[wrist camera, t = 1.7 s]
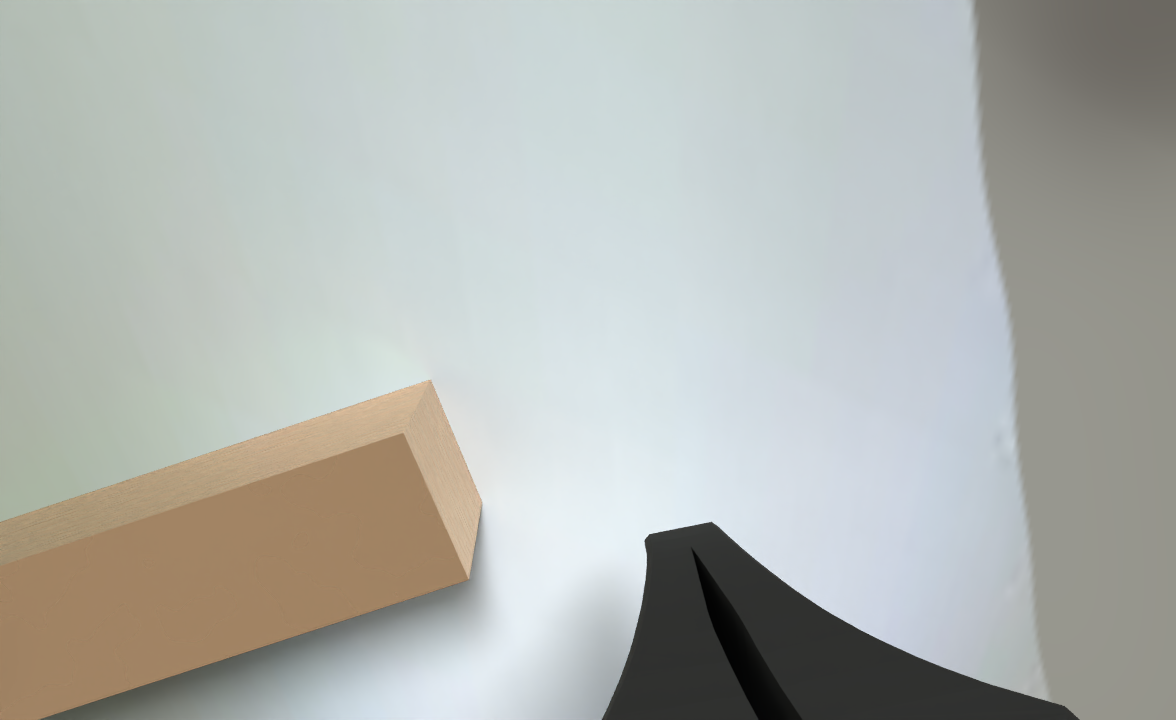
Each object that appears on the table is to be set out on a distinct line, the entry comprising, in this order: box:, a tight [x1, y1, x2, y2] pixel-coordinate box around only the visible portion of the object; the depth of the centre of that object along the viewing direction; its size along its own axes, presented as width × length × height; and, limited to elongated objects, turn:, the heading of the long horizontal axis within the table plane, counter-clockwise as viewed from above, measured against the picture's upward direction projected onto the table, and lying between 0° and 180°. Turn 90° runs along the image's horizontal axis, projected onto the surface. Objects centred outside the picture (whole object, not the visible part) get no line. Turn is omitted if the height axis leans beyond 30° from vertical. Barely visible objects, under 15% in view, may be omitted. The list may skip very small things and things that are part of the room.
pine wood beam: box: [0, 380, 482, 720], centre depth 17 cm, size 4×14×4 cm, turn 108°
